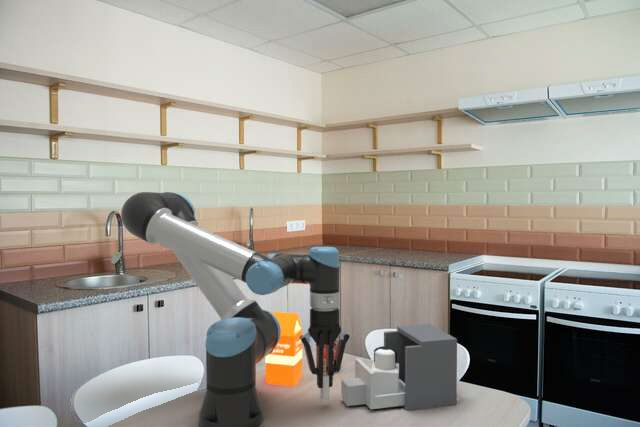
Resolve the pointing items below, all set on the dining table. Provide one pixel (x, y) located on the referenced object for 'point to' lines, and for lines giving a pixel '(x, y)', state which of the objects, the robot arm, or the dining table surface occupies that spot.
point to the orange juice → (286, 352)
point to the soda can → (333, 353)
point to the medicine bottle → (386, 371)
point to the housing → (425, 365)
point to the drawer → (368, 390)
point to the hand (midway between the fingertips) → (324, 399)
